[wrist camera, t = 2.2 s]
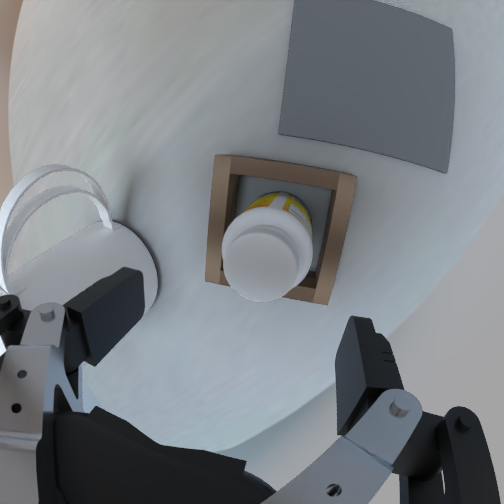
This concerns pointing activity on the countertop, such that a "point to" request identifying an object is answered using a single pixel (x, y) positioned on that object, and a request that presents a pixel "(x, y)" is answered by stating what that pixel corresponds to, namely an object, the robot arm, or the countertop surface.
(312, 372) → the countertop surface
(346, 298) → the countertop surface
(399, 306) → the countertop surface
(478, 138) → the countertop surface
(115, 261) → the coffeepot
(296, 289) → the collar holder
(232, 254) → the supplement bottle
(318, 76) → the rubber mat
